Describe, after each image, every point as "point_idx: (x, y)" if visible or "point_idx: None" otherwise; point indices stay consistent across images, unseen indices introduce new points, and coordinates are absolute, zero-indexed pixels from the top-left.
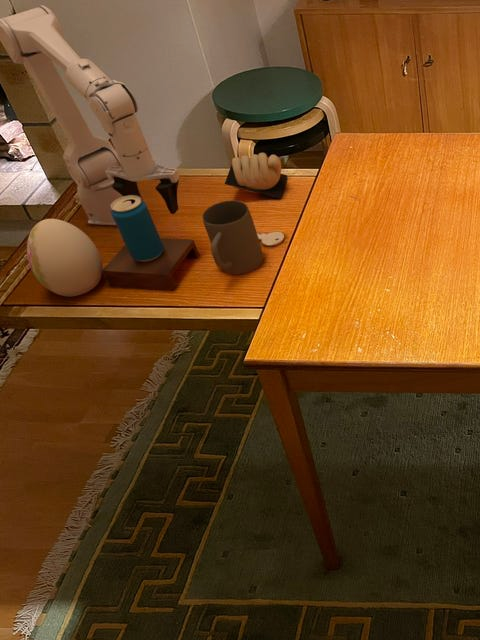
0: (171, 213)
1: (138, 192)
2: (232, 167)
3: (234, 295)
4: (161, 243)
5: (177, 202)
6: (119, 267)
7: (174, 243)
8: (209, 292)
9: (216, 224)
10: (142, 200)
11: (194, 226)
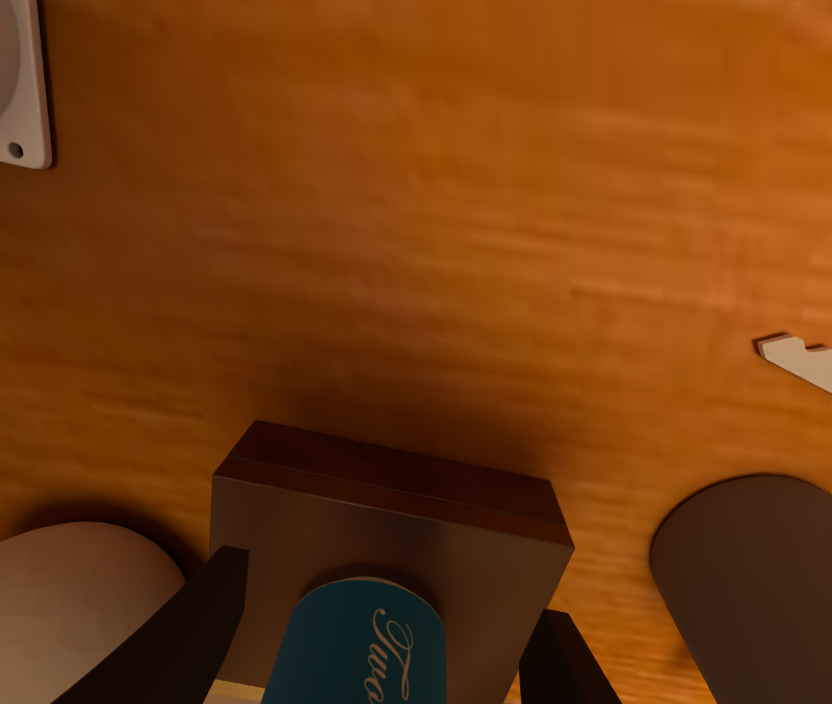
0: (523, 667)
1: (156, 698)
2: None
3: (697, 692)
4: (446, 669)
5: (600, 669)
6: (270, 671)
7: (476, 564)
8: (610, 670)
9: (819, 691)
10: (220, 592)
11: (481, 224)
